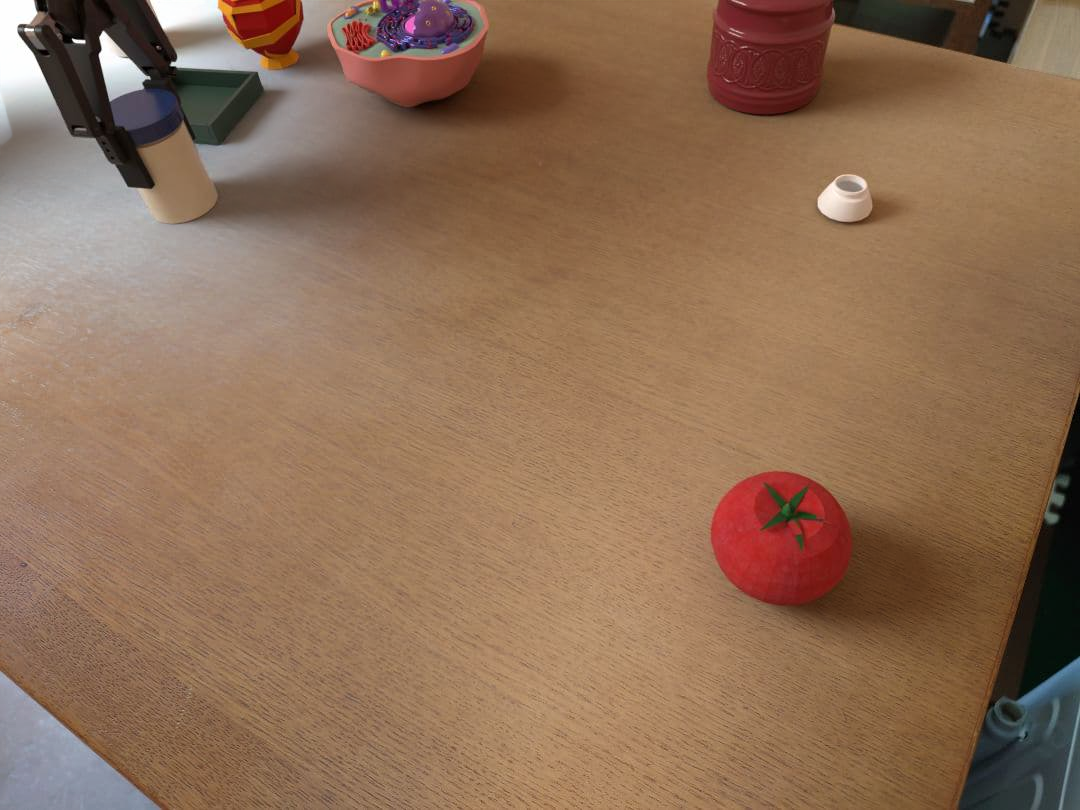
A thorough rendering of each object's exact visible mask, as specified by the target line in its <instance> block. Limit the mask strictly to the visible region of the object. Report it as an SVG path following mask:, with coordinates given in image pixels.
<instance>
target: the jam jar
mask: <svg viewBox="0 0 1080 810" xmlns="http://www.w3.org/2000/svg"><path fill="white" fill-rule="evenodd" d="M135 148H136V150H137V152H138V154H139V155H140V157H141V159H142V161H143V163H144V165H145V166H146V168H147V170H148V172H149V174H150V176H151V177H152V179H153V181H154V183H155V186H154V187H153V188H152V189H144V188H136V189H137V192H138V193H139V195H140V196H141V198H142V200H143V202H144V203H145V205H146V207H147V209H148V211H149V212H150V214H151V216H152V218H153V219H154V220H156V221H157V222H160V223H163V224H168V225H169V224H170V225H173V224H174V225H176V224H183V223H187V222H190V221H193V220H196V219H197V218H200V217H202V216H204V215H205V214H207V213H208V212H210V210H212V209H213V207H214V206H215V205H216V204H217V202H218V198H219V196H218V195H219V194H218V190H217V188H216V187H215V184H214V182H213V181H212V178H211V176H210V174H209V172H208V169H207V167H206V165H205V163H204V161H203V159H202V157H201V155H200V153H199V151H198V148H197V146H196V143H194V142H193V140H192V137H191V135H190V133H189V131H188V129H187V127H186V125H185V123H184V120H183V121H182V123H181V124H180V126H179V127H178V128H177V129H176V130H175V131H174V132H172V133H171V134H169V135H168V136H166V137H164V138H162V139H160V140H157V141H155V142H152V143H149V144H145V145H140V146H135Z"/></svg>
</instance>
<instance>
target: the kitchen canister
mask: <svg viewBox="0 0 1080 810" xmlns="http://www.w3.org/2000/svg"><path fill="white" fill-rule="evenodd" d="M834 1H835V0H718V2H717V3H716V5H715V6H714V7H713V11H712V20H713V22H712V32H711V33H712V34H711V43H710V53H709V60H708V63H707V67H706V79H707V88H708V91H709V94H710V95H711V96H712V98H713V99H714V100H716V101H717V102H718V103H719V104H721V105H723V106H725V107H726V108H729V109H730V110H734V111H737V112H742V113H747V114H751V115H776V114H783V113H788V112H791V111H795V110H797V109H800V108H802V107H804V106H805V105H807V104H808V103H810V102H811V101H812V100H813V99H814V98H815V96H816V95H817V91H818V89H819V87H820V85H821V83H822V79H823V75H824V71H825V70H824V65H825V64H824V63H825V59H826V54H827V49H828V45H829V41H830V40H829V39H830V35H831V31H832V27H833V25H834V23H835V20H836V12H835V8H834Z"/></svg>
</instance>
